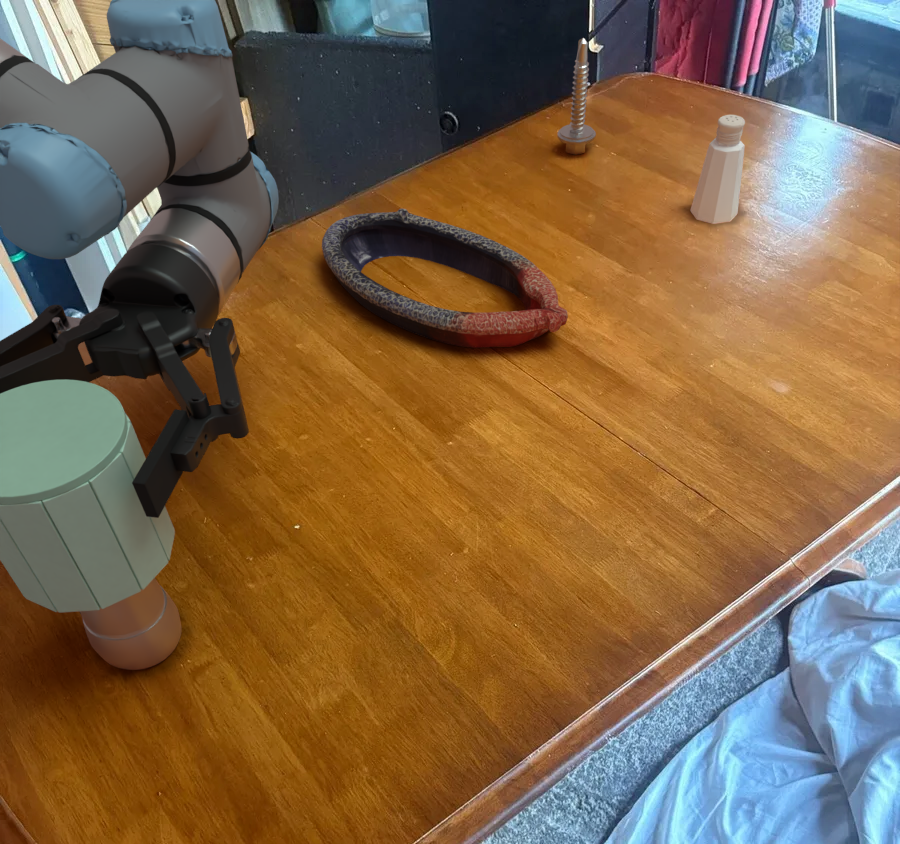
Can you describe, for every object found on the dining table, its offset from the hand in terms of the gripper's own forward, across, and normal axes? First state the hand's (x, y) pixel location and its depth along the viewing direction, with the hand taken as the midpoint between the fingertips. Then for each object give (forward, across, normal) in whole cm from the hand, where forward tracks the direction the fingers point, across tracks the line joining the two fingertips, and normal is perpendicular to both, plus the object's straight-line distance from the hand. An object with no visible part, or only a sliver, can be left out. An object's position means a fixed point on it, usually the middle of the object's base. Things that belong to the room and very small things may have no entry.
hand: (36, 489), depth 52 cm
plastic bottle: (-2, 0, -18) cm, 18 cm away
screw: (-86, -25, -18) cm, 91 cm away
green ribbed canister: (-2, 0, -7) cm, 8 cm away
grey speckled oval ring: (-49, -14, -18) cm, 54 cm away
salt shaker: (-70, -42, -18) cm, 84 cm away
